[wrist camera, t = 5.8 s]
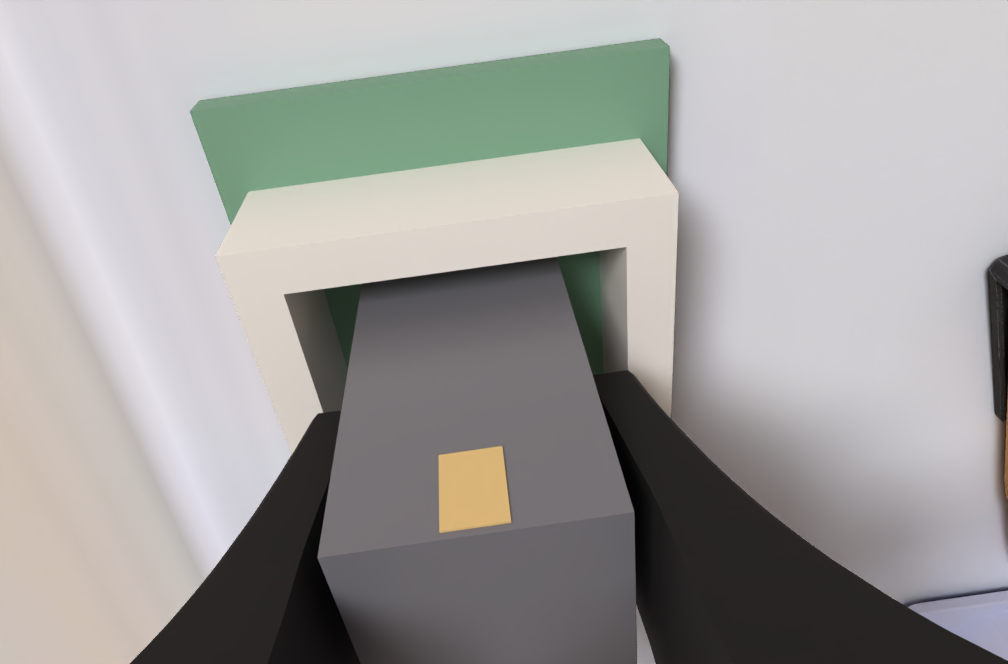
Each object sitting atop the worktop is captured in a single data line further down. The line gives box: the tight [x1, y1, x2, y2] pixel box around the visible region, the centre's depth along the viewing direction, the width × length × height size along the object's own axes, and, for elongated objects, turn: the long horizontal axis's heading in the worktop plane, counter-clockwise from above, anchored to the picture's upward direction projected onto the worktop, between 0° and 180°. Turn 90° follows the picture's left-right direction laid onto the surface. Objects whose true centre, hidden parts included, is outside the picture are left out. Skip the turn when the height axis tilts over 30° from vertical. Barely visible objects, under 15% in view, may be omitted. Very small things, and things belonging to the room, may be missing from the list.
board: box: [190, 38, 679, 454], centre depth 14 cm, size 10×8×3 cm
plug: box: [317, 257, 637, 664], centre depth 12 cm, size 4×4×7 cm
